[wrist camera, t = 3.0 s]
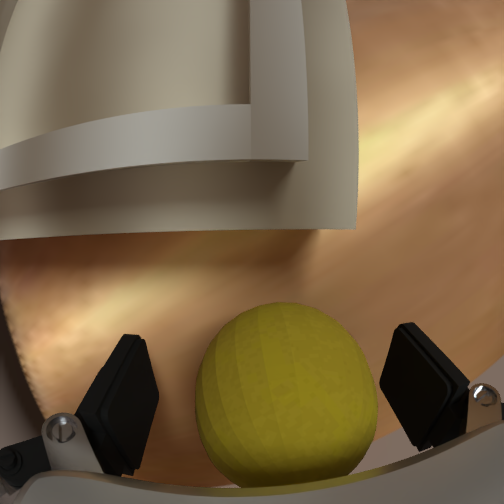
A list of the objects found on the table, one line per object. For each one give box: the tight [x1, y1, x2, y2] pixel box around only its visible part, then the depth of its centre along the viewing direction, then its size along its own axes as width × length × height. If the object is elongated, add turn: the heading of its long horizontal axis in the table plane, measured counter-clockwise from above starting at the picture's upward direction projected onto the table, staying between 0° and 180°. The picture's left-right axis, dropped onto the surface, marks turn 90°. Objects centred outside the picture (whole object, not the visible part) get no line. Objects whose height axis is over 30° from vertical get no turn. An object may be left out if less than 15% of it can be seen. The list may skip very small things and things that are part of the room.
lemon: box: [195, 302, 378, 488], centre depth 8 cm, size 6×6×8 cm
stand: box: [0, 0, 359, 240], centre depth 6 cm, size 16×16×4 cm
